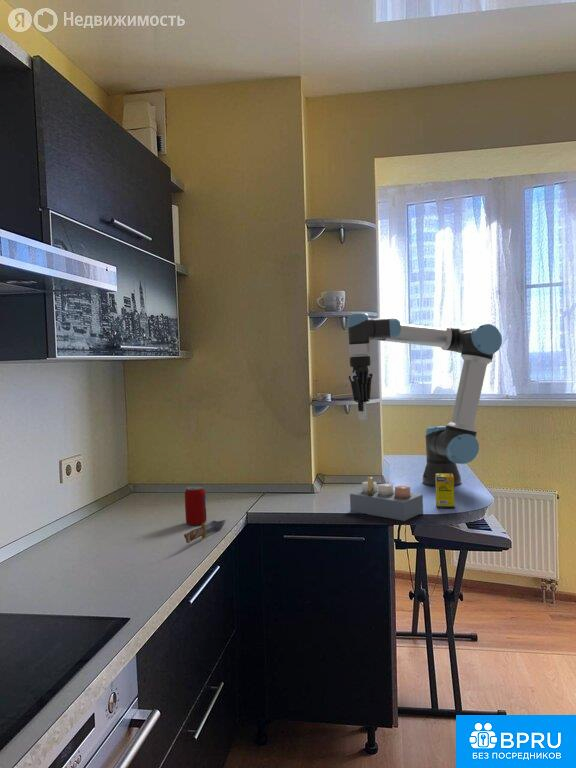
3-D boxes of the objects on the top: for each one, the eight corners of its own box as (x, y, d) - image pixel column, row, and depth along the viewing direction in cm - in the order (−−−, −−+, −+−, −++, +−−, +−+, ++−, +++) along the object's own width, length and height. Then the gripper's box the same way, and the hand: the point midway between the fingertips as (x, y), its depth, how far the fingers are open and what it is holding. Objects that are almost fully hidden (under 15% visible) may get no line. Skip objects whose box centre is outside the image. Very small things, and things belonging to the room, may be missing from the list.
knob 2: (383, 506, 200) (383, 483, 199) (396, 508, 196) (395, 484, 196) (375, 509, 196) (375, 485, 196) (388, 512, 193) (387, 487, 192)
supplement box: (454, 508, 197) (454, 476, 196) (436, 508, 198) (435, 476, 197) (453, 504, 202) (452, 473, 202) (435, 504, 204) (435, 473, 203)
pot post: (370, 494, 196) (369, 476, 196) (375, 495, 195) (374, 477, 195) (366, 495, 195) (366, 477, 195) (371, 496, 194) (371, 478, 193)
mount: (370, 503, 208) (369, 487, 207) (423, 512, 194) (422, 494, 193) (350, 511, 199) (349, 493, 198) (404, 520, 185) (404, 502, 184)
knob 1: (368, 503, 204) (367, 480, 204) (380, 506, 201) (379, 482, 200) (359, 507, 200) (359, 483, 200) (372, 509, 197) (371, 485, 197)
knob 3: (400, 509, 195) (399, 485, 195) (413, 511, 192) (413, 487, 192) (392, 512, 192) (391, 488, 191) (405, 515, 188) (405, 490, 188)
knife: (225, 525, 187) (224, 510, 187) (229, 526, 186) (228, 510, 186) (183, 550, 164) (182, 533, 164) (187, 551, 164) (186, 533, 163)
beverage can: (211, 521, 192) (209, 486, 192) (197, 527, 186) (195, 490, 186) (195, 519, 196) (194, 484, 195) (181, 524, 190) (179, 488, 190)
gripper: (360, 355, 221) (363, 417, 222) (341, 357, 211) (344, 421, 212) (377, 354, 216) (381, 417, 217) (358, 356, 206) (362, 422, 207)
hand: (363, 419), depth 215 cm, fingers closed
